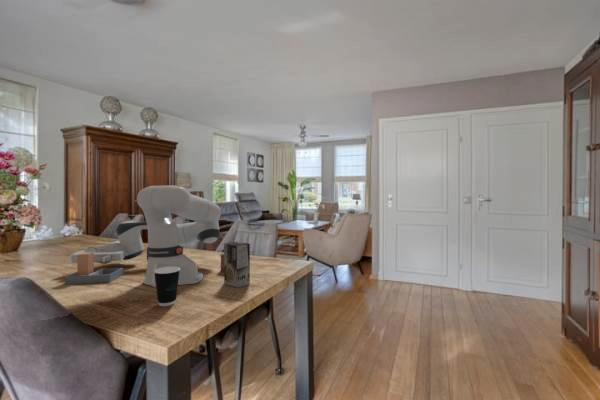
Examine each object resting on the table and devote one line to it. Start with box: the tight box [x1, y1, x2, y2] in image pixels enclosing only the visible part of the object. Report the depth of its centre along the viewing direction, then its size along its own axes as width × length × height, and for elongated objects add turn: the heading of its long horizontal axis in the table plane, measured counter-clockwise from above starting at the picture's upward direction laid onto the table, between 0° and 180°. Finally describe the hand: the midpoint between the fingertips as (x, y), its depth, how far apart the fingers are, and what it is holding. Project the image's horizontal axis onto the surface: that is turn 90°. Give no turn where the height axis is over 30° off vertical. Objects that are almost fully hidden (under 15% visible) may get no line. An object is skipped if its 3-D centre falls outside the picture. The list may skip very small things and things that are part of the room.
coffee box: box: [223, 241, 251, 289], centre depth 114 cm, size 9×6×16 cm
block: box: [76, 252, 95, 276], centre depth 120 cm, size 4×4×10 cm
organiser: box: [64, 267, 124, 285], centre depth 120 cm, size 16×12×3 cm
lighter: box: [220, 248, 224, 272], centre depth 134 cm, size 8×3×10 cm, turn 71°
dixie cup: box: [153, 267, 180, 307], centre depth 93 cm, size 8×8×11 cm
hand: (89, 260), depth 123 cm, fingers open, 8 cm apart
